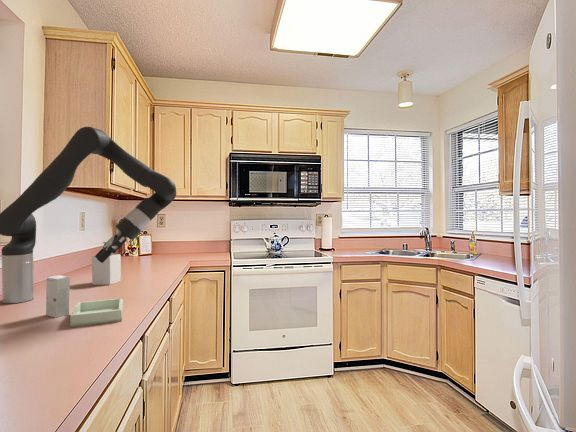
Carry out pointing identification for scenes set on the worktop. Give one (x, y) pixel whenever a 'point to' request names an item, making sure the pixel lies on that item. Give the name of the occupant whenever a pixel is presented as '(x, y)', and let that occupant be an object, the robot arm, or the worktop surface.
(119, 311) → the tray
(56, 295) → the skincare box
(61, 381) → the worktop surface
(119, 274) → the soap bottle
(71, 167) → the robot arm
